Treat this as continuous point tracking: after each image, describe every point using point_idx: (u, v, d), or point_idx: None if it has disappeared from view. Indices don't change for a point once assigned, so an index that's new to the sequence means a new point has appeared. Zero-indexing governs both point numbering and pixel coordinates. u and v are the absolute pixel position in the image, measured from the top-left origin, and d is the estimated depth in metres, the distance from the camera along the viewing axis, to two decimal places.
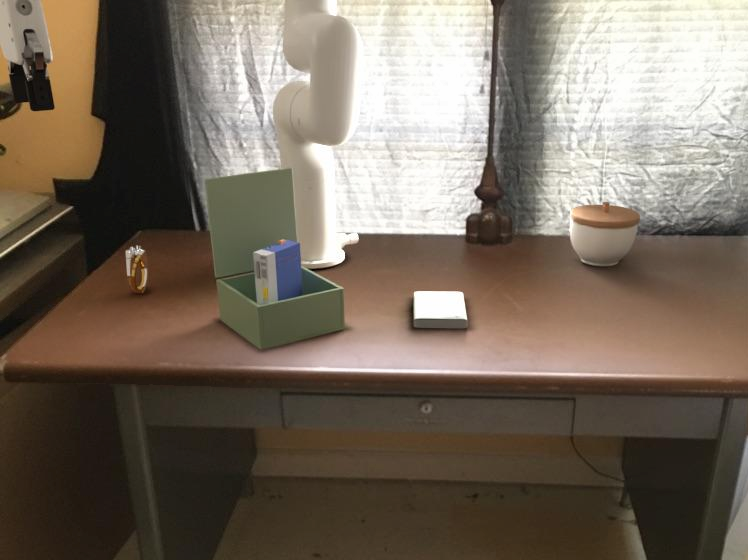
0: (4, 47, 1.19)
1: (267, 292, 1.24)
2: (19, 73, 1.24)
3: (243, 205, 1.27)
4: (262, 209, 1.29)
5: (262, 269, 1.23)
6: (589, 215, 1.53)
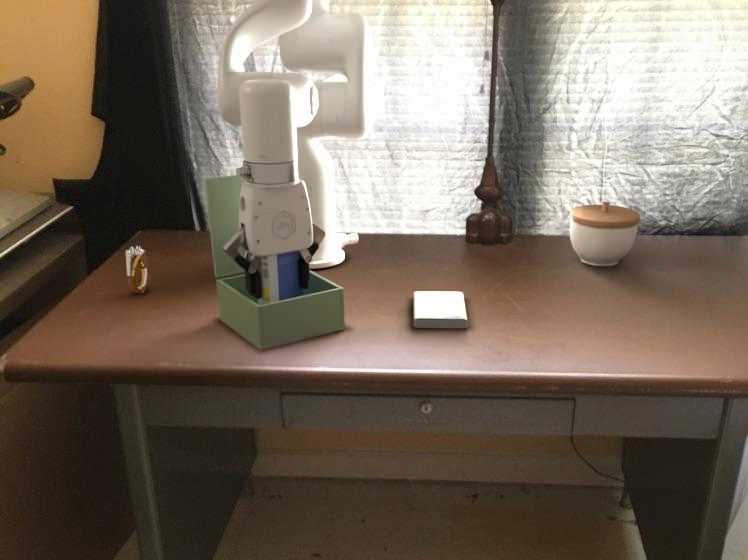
0: None
1: (269, 292, 1.24)
2: None
3: None
4: None
5: (264, 269, 1.23)
6: (589, 215, 1.53)
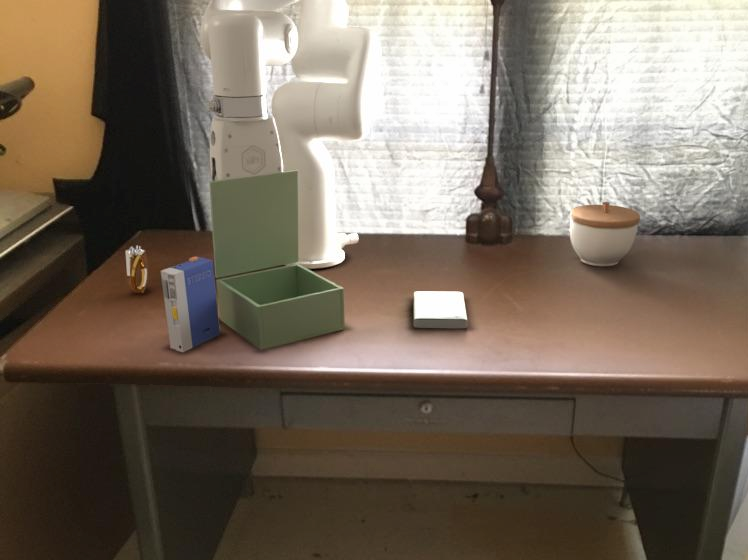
0: None
1: (177, 312, 1.18)
2: None
3: (247, 207, 1.26)
4: (265, 211, 1.28)
5: (170, 288, 1.17)
6: (589, 215, 1.53)
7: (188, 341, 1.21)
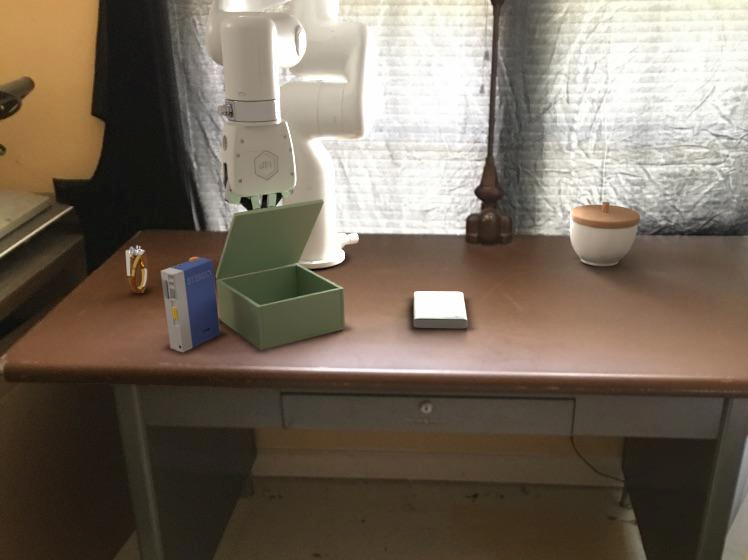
0: None
1: (177, 312, 1.18)
2: None
3: (264, 230, 1.23)
4: (281, 231, 1.26)
5: (170, 288, 1.17)
6: (589, 215, 1.53)
7: (188, 341, 1.21)
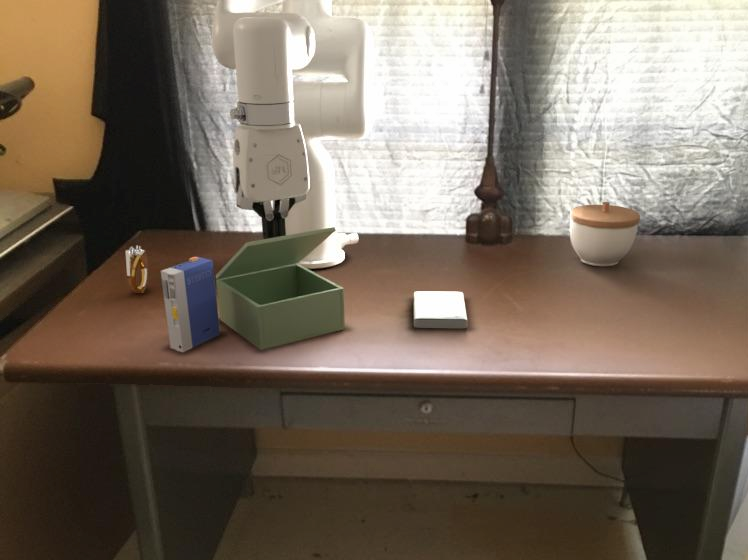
0: None
1: (177, 312, 1.18)
2: (274, 216, 1.24)
3: (272, 250, 1.23)
4: (288, 249, 1.25)
5: (170, 288, 1.17)
6: (589, 215, 1.53)
7: (188, 341, 1.21)
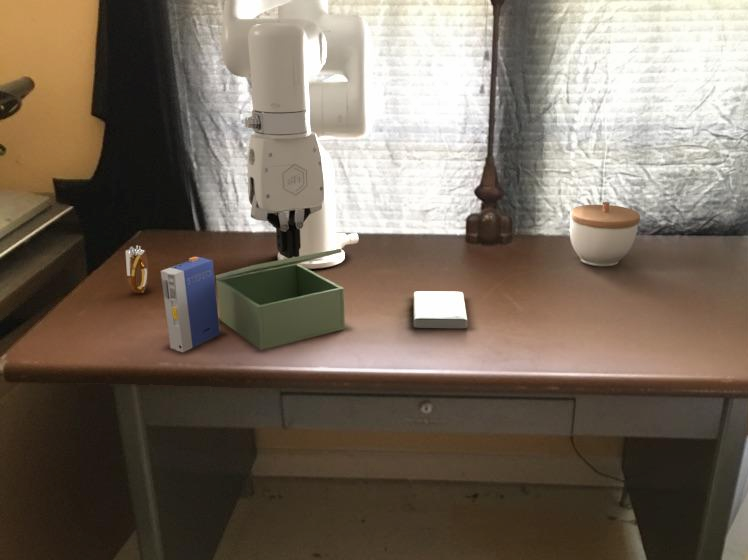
0: None
1: (177, 312, 1.18)
2: (288, 227, 1.21)
3: None
4: (291, 263, 1.26)
5: (170, 288, 1.17)
6: (589, 215, 1.53)
7: (188, 341, 1.21)
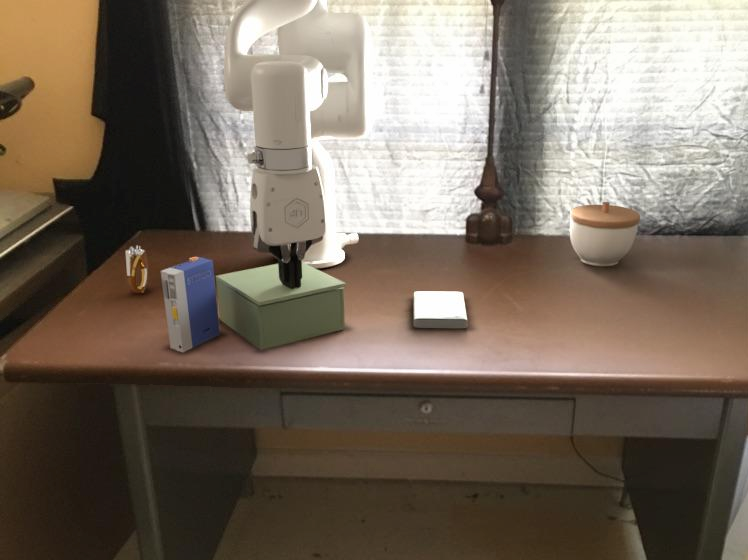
0: None
1: (177, 312, 1.18)
2: (290, 258, 1.23)
3: None
4: None
5: (170, 288, 1.17)
6: (589, 215, 1.53)
7: (188, 341, 1.21)
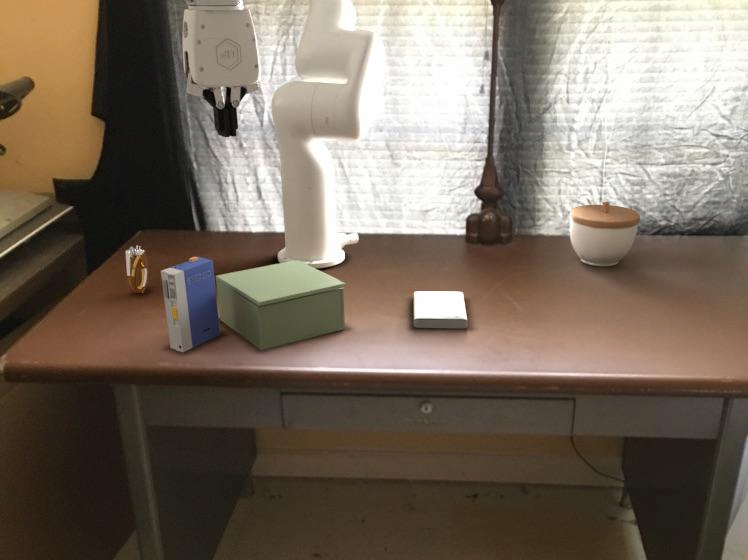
0: None
1: (177, 312, 1.18)
2: (225, 106, 1.23)
3: None
4: None
5: (170, 288, 1.17)
6: (589, 215, 1.53)
7: (188, 341, 1.21)
